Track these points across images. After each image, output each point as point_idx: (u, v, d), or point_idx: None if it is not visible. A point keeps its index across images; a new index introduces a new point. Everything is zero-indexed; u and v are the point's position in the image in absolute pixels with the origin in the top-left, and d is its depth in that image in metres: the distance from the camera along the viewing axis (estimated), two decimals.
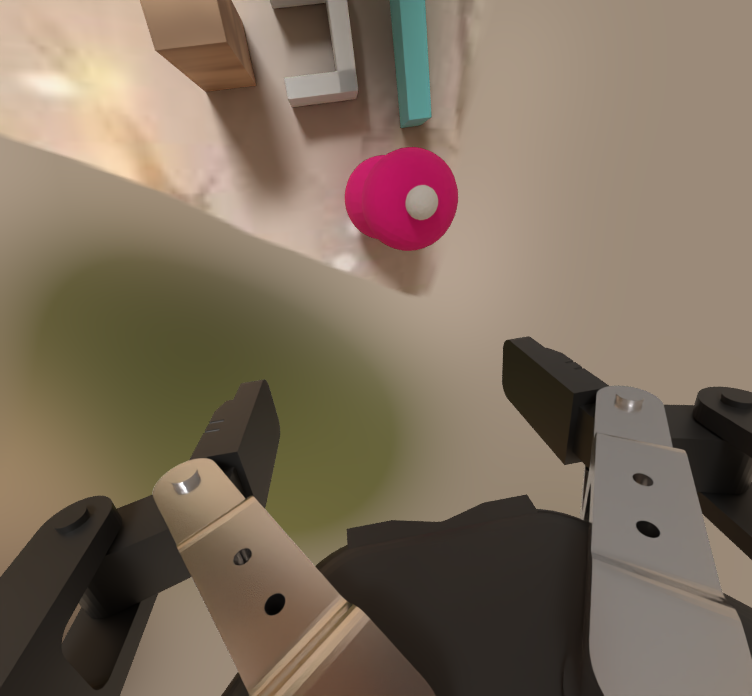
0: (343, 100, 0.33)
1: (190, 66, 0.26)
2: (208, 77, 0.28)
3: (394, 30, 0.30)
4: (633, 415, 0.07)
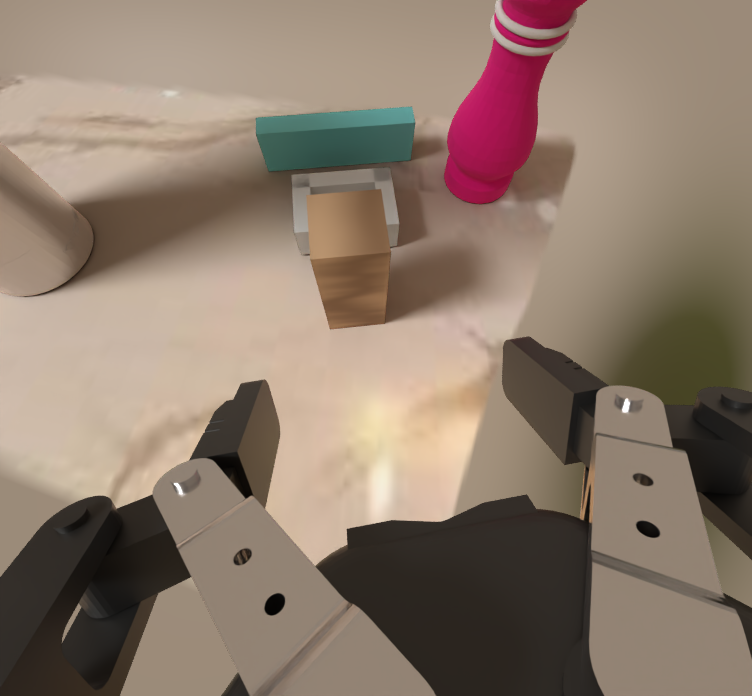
0: None
1: None
2: None
3: (338, 157, 0.34)
4: (633, 415, 0.07)
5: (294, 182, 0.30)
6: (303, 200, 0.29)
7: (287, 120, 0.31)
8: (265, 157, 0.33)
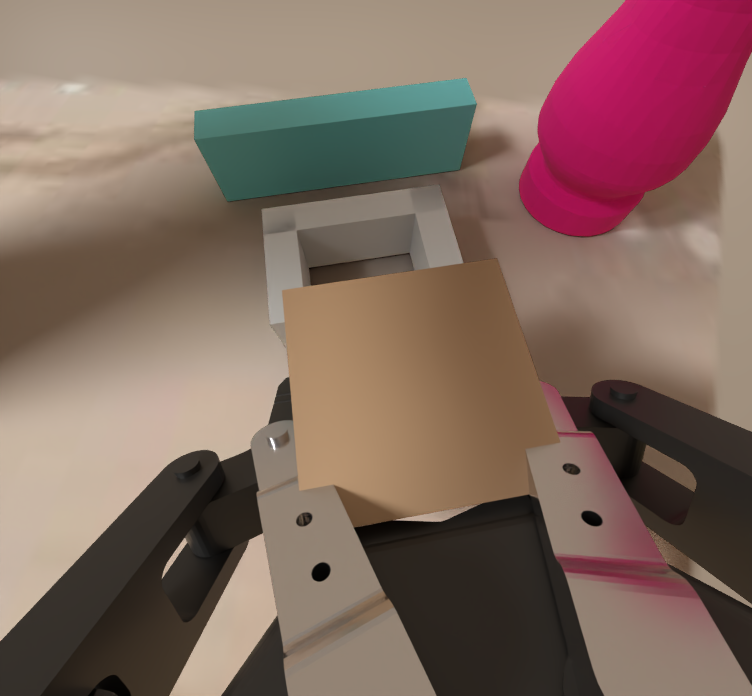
0: None
1: None
2: None
3: (341, 171, 0.20)
4: None
5: (267, 222, 0.16)
6: (286, 257, 0.15)
7: (250, 113, 0.18)
8: (218, 179, 0.19)
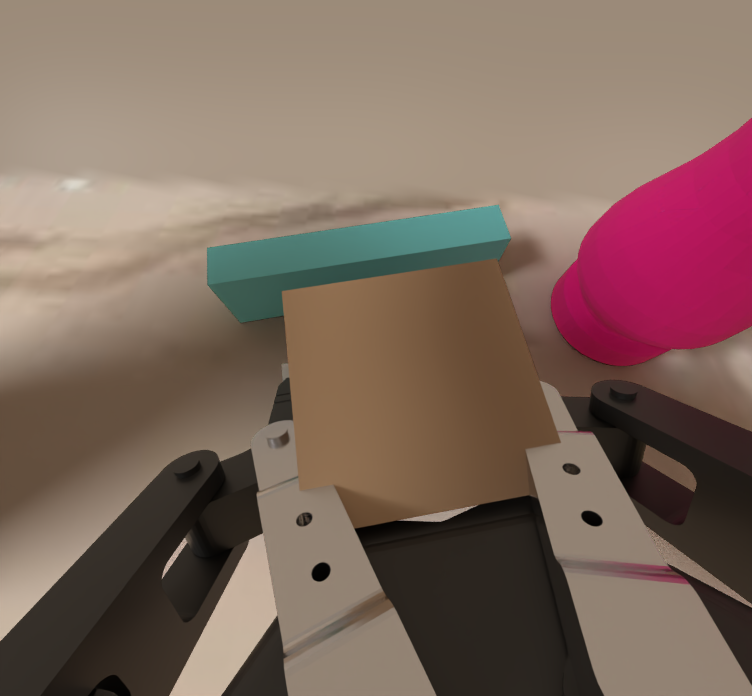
0: None
1: None
2: None
3: None
4: None
5: None
6: None
7: (267, 251, 0.16)
8: (231, 308, 0.18)
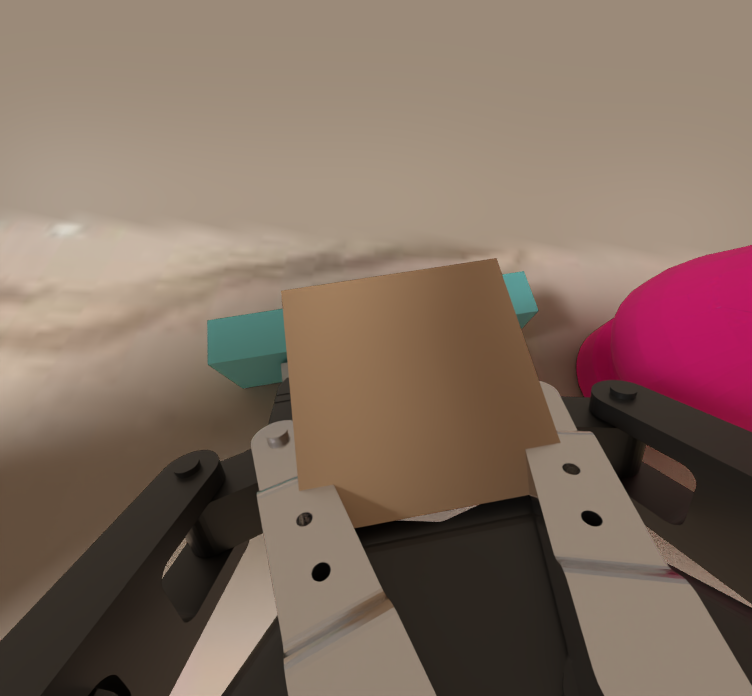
0: None
1: None
2: None
3: None
4: None
5: None
6: None
7: (273, 324, 0.15)
8: (233, 379, 0.17)
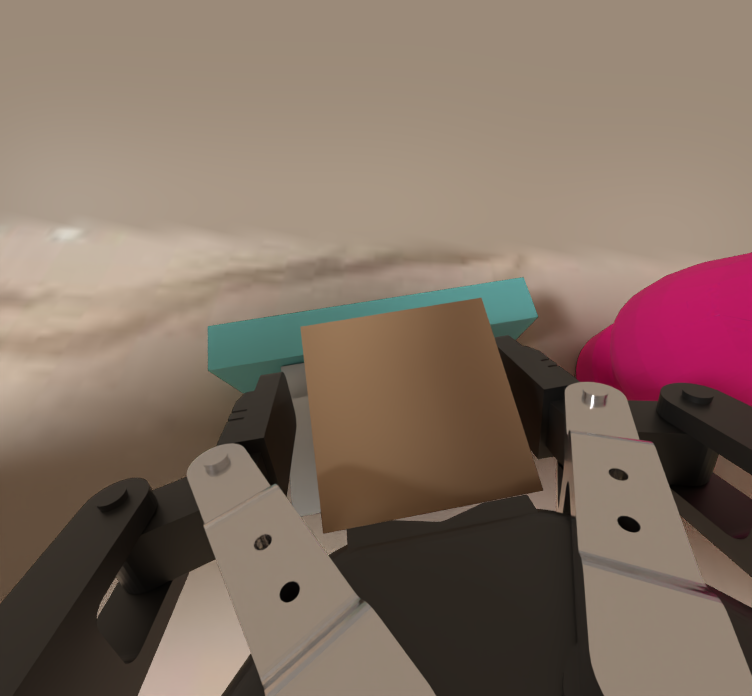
0: None
1: None
2: None
3: None
4: (597, 410, 0.07)
5: None
6: (308, 429, 0.14)
7: (273, 330, 0.15)
8: (234, 384, 0.17)
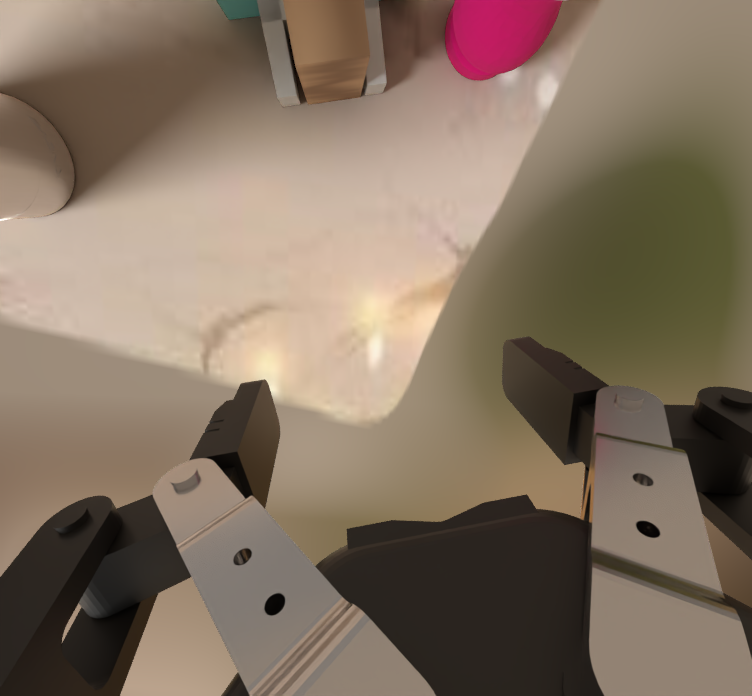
0: None
1: None
2: None
3: None
4: (633, 415, 0.07)
5: (262, 10, 0.25)
6: (279, 45, 0.26)
7: None
8: (224, 9, 0.26)
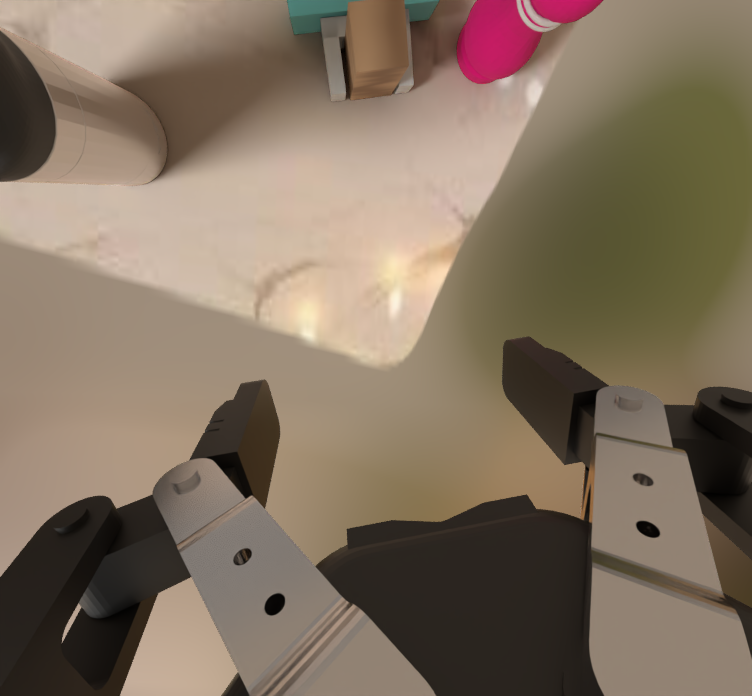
0: None
1: None
2: None
3: None
4: (633, 415, 0.07)
5: (324, 29, 0.34)
6: (335, 55, 0.34)
7: None
8: (293, 27, 0.34)
